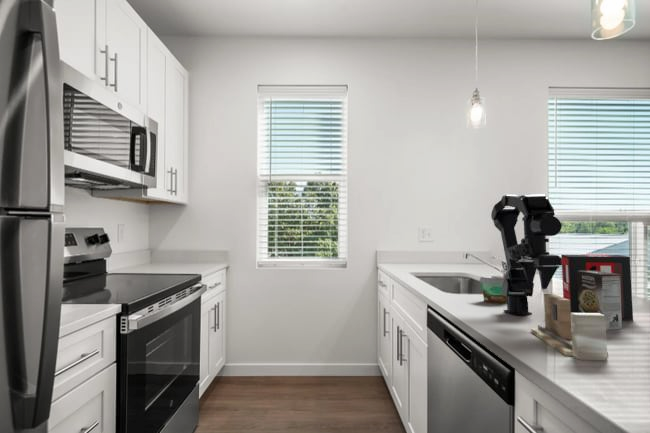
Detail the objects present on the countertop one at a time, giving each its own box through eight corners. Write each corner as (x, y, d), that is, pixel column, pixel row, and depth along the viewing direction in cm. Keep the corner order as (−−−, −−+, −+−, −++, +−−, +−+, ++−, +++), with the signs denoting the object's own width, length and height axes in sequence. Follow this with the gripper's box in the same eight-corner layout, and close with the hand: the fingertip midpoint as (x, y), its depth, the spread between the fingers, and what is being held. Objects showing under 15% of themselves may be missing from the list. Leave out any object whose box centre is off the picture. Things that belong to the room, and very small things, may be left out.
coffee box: (578, 322, 113) (575, 270, 113) (597, 321, 113) (594, 269, 114) (603, 330, 104) (600, 274, 104) (623, 329, 104) (620, 273, 105)
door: (544, 329, 102) (542, 293, 102) (555, 329, 101) (553, 293, 102) (560, 339, 93) (558, 300, 93) (571, 339, 92) (570, 300, 93)
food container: (484, 304, 142) (483, 278, 142) (480, 300, 148) (479, 276, 148) (517, 304, 140) (516, 278, 140) (512, 301, 146) (511, 276, 146)
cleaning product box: (571, 317, 119) (568, 256, 120) (564, 311, 127) (561, 254, 128) (633, 320, 113) (629, 256, 114) (620, 314, 122) (617, 254, 122)
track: (531, 331, 104) (529, 296, 104) (565, 332, 102) (563, 297, 103) (571, 359, 82) (569, 315, 82) (614, 360, 81) (612, 315, 81)
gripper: (496, 235, 121) (498, 281, 120) (519, 236, 102) (522, 291, 102) (531, 234, 120) (533, 281, 119) (561, 235, 101) (564, 291, 101)
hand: (536, 286), depth 110 cm, fingers open, 9 cm apart
